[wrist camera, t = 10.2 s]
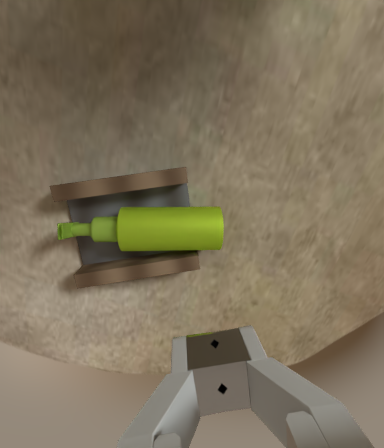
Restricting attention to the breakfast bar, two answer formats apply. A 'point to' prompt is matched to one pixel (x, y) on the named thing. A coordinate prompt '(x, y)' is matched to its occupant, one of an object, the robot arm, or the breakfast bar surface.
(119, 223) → the soap dispenser
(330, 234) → the breakfast bar surface
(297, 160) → the breakfast bar surface
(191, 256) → the U-rest
